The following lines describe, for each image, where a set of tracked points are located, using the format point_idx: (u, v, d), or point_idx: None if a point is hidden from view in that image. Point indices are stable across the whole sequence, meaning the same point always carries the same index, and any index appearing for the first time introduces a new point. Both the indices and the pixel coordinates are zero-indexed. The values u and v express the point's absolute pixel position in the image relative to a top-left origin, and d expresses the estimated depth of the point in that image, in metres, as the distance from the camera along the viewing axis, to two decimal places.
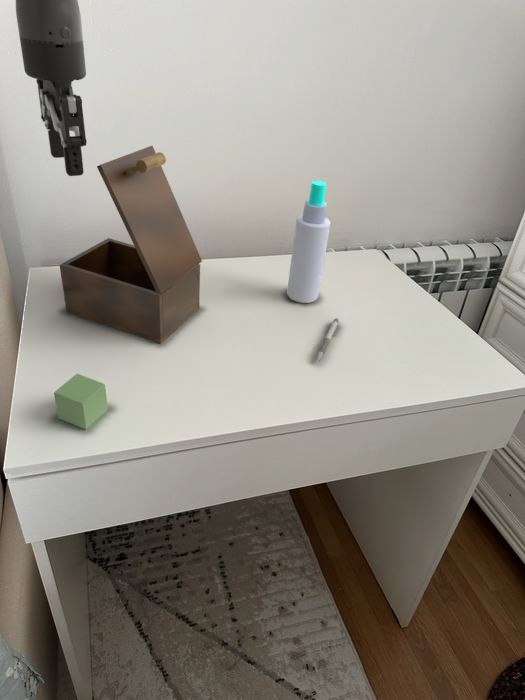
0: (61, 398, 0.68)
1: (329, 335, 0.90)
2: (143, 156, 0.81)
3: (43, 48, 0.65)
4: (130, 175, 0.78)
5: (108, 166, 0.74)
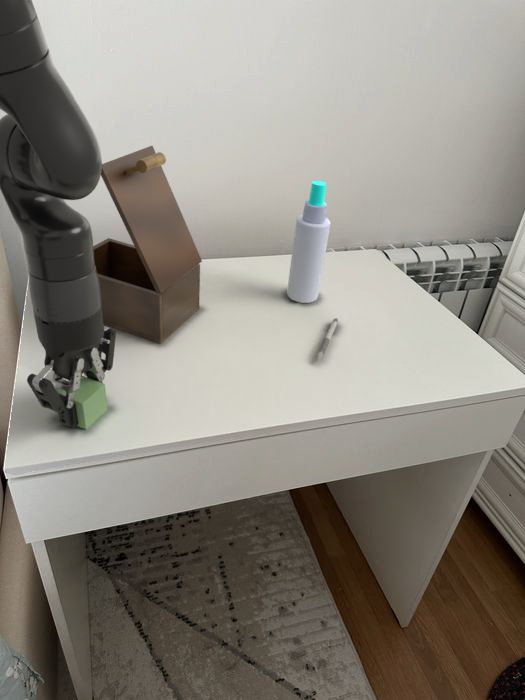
0: None
1: (329, 335, 0.90)
2: (143, 156, 0.81)
3: (35, 318, 0.60)
4: (130, 175, 0.78)
5: (108, 166, 0.74)
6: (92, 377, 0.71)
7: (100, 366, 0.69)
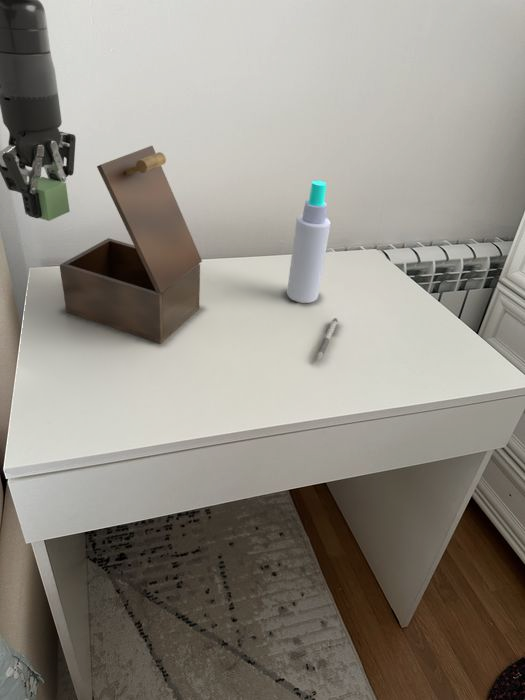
0: None
1: (328, 335, 0.90)
2: (143, 156, 0.81)
3: None
4: (130, 175, 0.78)
5: (108, 166, 0.74)
6: (55, 178, 0.80)
7: (60, 164, 0.78)
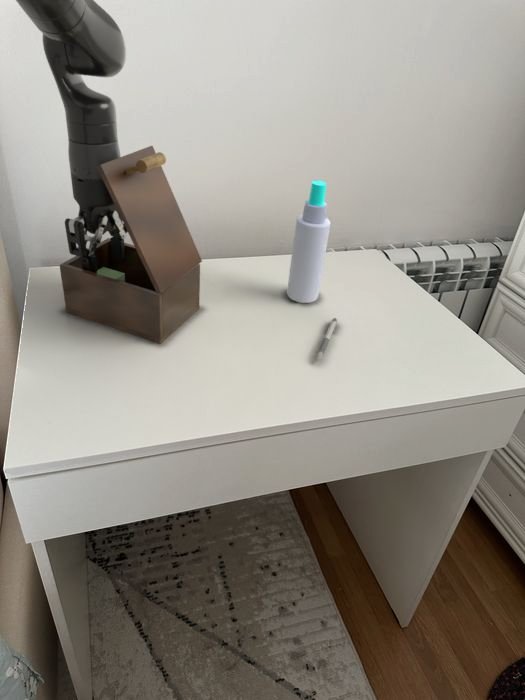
0: None
1: (328, 335, 0.90)
2: (143, 156, 0.81)
3: (72, 179, 0.80)
4: (130, 175, 0.78)
5: (108, 166, 0.74)
6: (116, 235, 0.91)
7: (121, 226, 0.89)
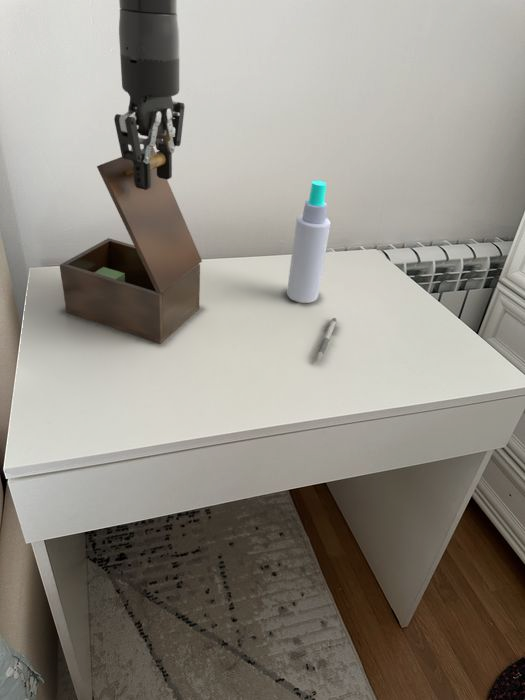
0: None
1: (328, 335, 0.90)
2: None
3: (123, 62, 0.67)
4: (130, 175, 0.78)
5: (108, 166, 0.74)
6: (163, 148, 0.78)
7: (172, 133, 0.76)
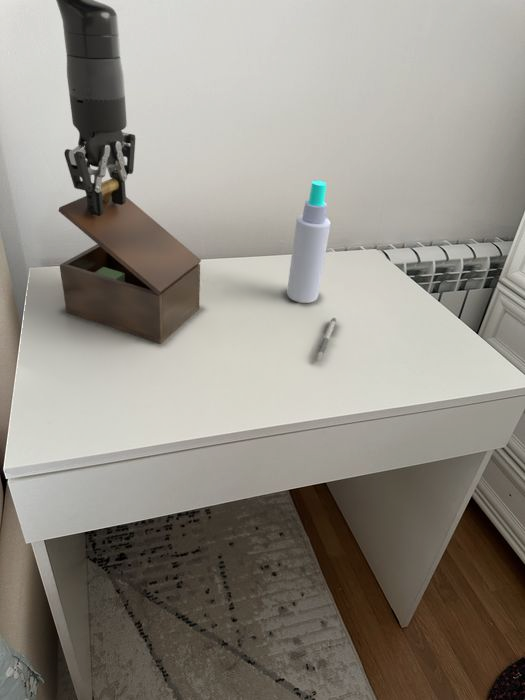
0: None
1: (328, 335, 0.90)
2: None
3: (71, 101, 0.73)
4: None
5: (68, 206, 0.81)
6: (116, 176, 0.84)
7: (123, 163, 0.82)
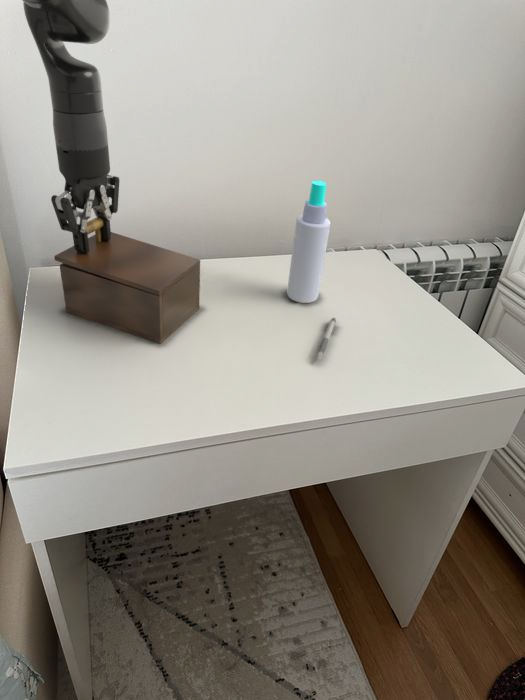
0: None
1: (328, 335, 0.90)
2: None
3: (58, 151, 0.79)
4: None
5: (62, 253, 0.86)
6: (101, 216, 0.89)
7: (107, 204, 0.87)
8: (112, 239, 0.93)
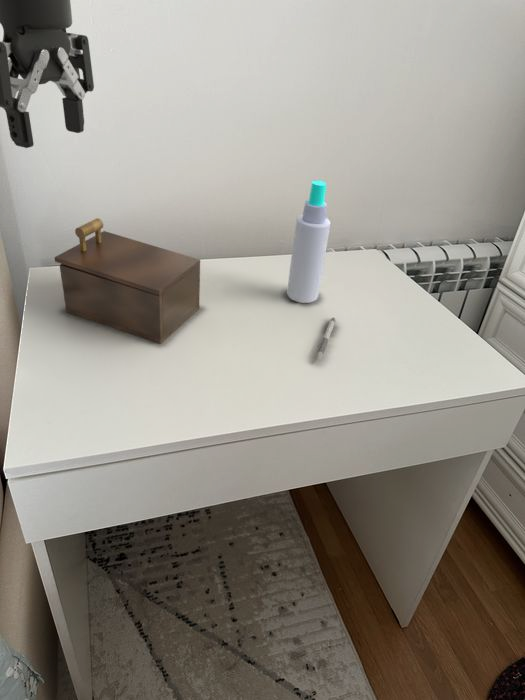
0: None
1: (327, 335, 0.90)
2: None
3: None
4: (88, 250, 0.89)
5: (62, 255, 0.87)
6: (70, 93, 0.63)
7: (75, 76, 0.61)
8: (112, 240, 0.93)
